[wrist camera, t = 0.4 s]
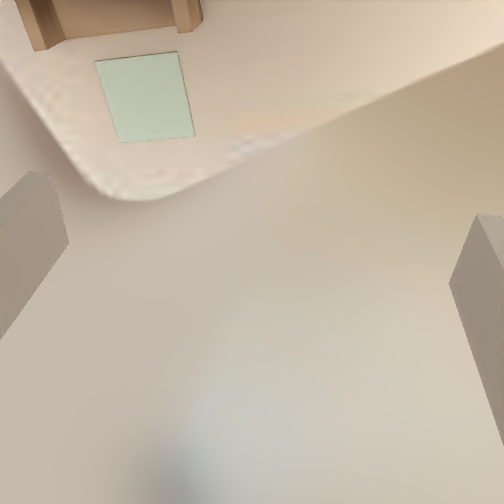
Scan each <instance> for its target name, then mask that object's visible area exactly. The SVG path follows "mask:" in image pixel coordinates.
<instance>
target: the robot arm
mask: <svg viewBox="0 0 504 504" xmlns="http://www.w3.org/2000/svg"><path fill="white" fill-rule="evenodd" d="M68 244H69V241H68V237H67V233H66V229H65V224H64V220H63V216H62V212H61V207H60V203H59V199H58V195H57V191H56V187H55V183H54V178H53V174H52V173H44V172H32V171H29V172H28V173H27V174H26V175H24V177H22V178H21V179H20V180H19V181H18V182H17V183H16V184H15V185H14V186H13V187H12V188H11V189H10V190H9V191H8V192H7V193H6V194H5V195H4V196H3V197H2V198H1V199H0V340H1V338H2V337H3V336H4V334H5V333H6V331H7V330H8V329H9V327H10V326H11V324H12V323H13V322H14V320H15V319H16V317H17V316H18V315H19V313H20V312H21V310H22V309H23V308H24V306H25V305H26V303H27V302H28V300H29V299H30V298H31V296H32V295H33V293H34V292H35V291H36V289H37V287H38V286H39V285H40V283H41V282H42V281H43V279H44V278H45V277H46V275H47V274H48V272H49V271H50V269H51V268H52V267H53V265H54V264H55V262H56V261H57V260H58V258H59V257H60V255H61V254H62V253H63V251H64V250H65V248H66V247H67V245H68ZM449 285H450V288H451V291H452V294H453V297H454V300H455V303H456V306H457V309H458V312H459V315H460V318H461V321H462V324H463V327H464V329H465V333H466V336H467V338H468V342H469V345H470V348H471V351H472V354H473V356H474V359H475V362H476V365H477V368H478V371H479V374H480V377H481V380H482V383H483V386H484V389H485V392H486V395H487V398H488V401H489V404H490V407H491V409H492V413H493V415H494V419H495V422H496V425H497V427H498V431H499V433H500V436H501V439H502V442H503V445H504V218H503V217H502V216H492V215H482V214H476V216H475V219H474V221H473V223H472V226H471V229H470V231H469V234H468V236H467V239H466V241H465V244H464V246H463V249H462V251H461V254H460V256H459V259H458V261H457V264H456V266H455V269H454V271H453V274H452V277H451V279H450V282H449Z"/></svg>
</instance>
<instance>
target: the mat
mask: <svg viewBox="0 0 504 504" xmlns="http://www.w3.org/2000/svg"><path fill="white" fill-rule="evenodd" d="M94 64H95V67H96V70H97V73H98V77H99V80H100V83H101V86H102V89H103V92H104V96H105V99H106V102H107V105H108V108H109V111H110V115H111V118H112V121H113V124H114V127H115V130H116V134H117V137H118V140H119V143H126V142H137V141H149V140H160V139H172V138H184V137H195V131H194V127H193V122H192V117H191V113H190V108H189V103H188V99H187V94H186V89H185V85H184V80H183V75H182V71H181V66H180V61H179V57H178V52H169V53H160V54H152V55H144V56H135V57H127V58H118V59H110V60H101V61H95V62H94Z"/></svg>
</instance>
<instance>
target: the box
mask: <svg viewBox="0 0 504 504" xmlns="http://www.w3.org/2000/svg"><path fill="white" fill-rule="evenodd" d="M15 2H16V5H17V7H18V10H19V12H20V15H21V18H22V20H23V23H24V26H25V28H26V31H27V33H28V36H29V39H30V41H31V44H32V47H33V49H34V51H41V50H47V49H49V48H51V47H53V46H55V45H56V44H58V43H60V42H62V41H64V40H66V39H74V38H82V37H90V36H97V35H105V34H113V33H121V32H129V31H136V30H144V29H152V28H160V27H168V26H175V25H176V26H177V31H178V33H185V32H192V31H193V30H194V29H195V28H196V27H197V26H198V25H199V24H200V23H201V22H202V21H203V17H202V11H201V6H200V0H15Z"/></svg>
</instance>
